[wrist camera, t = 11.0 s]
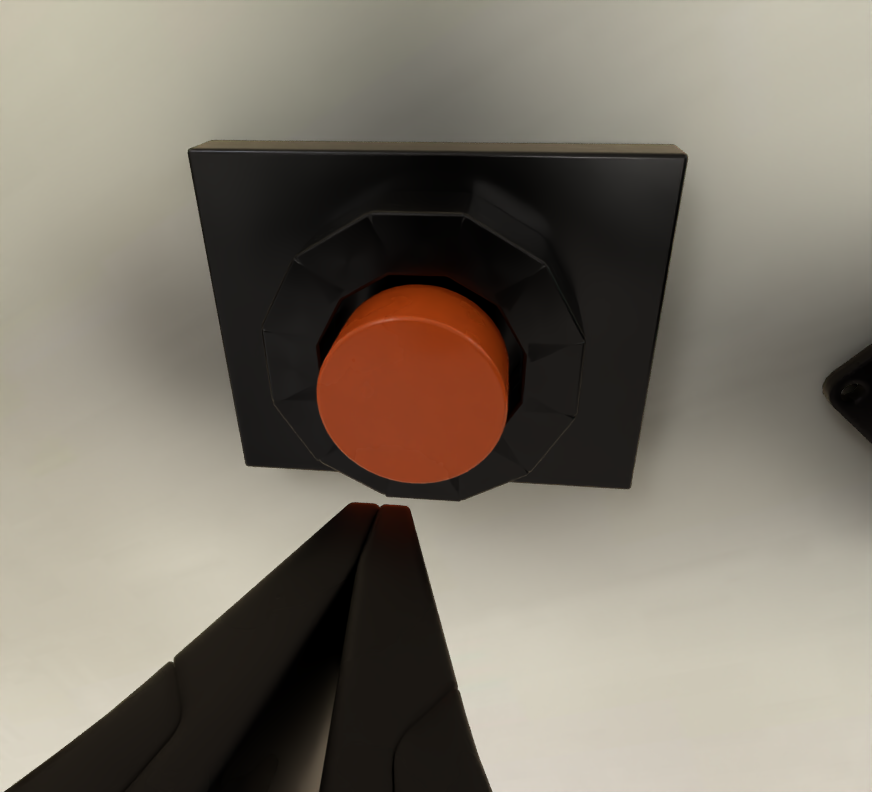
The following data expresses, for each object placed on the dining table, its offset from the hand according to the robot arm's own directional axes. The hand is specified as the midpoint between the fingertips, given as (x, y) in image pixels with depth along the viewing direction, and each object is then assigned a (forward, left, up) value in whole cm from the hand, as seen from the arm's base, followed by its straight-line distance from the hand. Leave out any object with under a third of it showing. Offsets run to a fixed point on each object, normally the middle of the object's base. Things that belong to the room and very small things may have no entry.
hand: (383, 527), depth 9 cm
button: (0, 0, -5) cm, 5 cm away
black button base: (0, 0, -8) cm, 8 cm away
